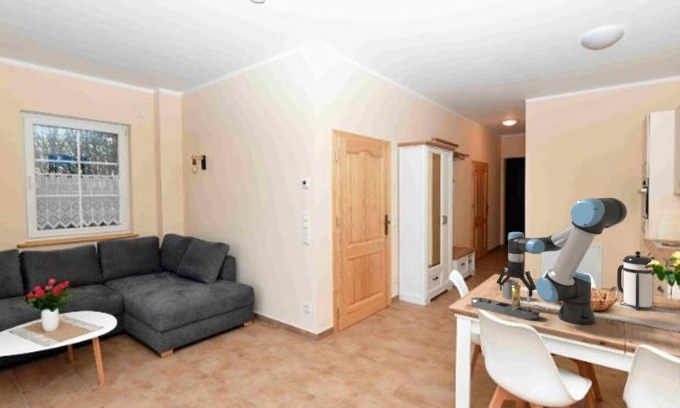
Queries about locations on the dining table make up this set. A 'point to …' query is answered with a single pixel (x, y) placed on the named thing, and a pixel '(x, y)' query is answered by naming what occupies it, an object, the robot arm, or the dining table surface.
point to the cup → (509, 288)
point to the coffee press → (636, 281)
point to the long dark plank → (505, 308)
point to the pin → (516, 294)
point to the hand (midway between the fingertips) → (515, 299)
